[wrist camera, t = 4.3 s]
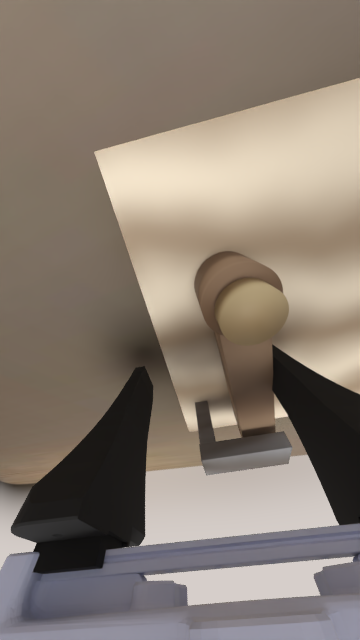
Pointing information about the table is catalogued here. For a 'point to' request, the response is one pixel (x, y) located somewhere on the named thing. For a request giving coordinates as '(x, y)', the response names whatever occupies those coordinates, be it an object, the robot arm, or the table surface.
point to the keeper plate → (248, 248)
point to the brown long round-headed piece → (237, 360)
